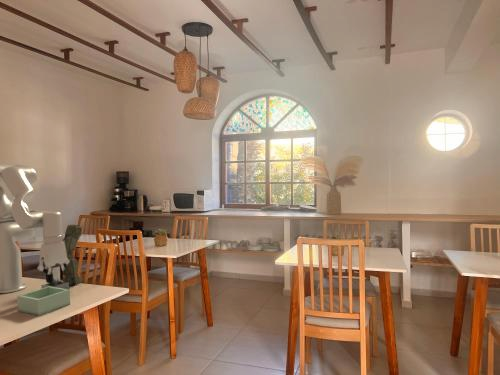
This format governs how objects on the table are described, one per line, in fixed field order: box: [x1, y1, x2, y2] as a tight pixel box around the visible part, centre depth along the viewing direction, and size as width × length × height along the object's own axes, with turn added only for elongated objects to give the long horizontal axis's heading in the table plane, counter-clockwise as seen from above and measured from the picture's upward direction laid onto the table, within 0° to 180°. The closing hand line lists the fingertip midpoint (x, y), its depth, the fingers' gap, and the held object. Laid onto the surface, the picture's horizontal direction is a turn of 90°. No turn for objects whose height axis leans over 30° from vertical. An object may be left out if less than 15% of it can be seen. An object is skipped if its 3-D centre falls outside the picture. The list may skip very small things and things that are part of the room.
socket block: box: [40, 280, 71, 291], centre depth 156 cm, size 8×8×5 cm
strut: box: [49, 262, 62, 286], centre depth 156 cm, size 4×4×12 cm
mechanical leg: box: [62, 224, 84, 288], centre depth 172 cm, size 14×7×30 cm, turn 168°
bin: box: [16, 286, 71, 317], centre depth 140 cm, size 13×13×6 cm
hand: (54, 280), depth 156 cm, fingers closed on strut, 4 cm apart
